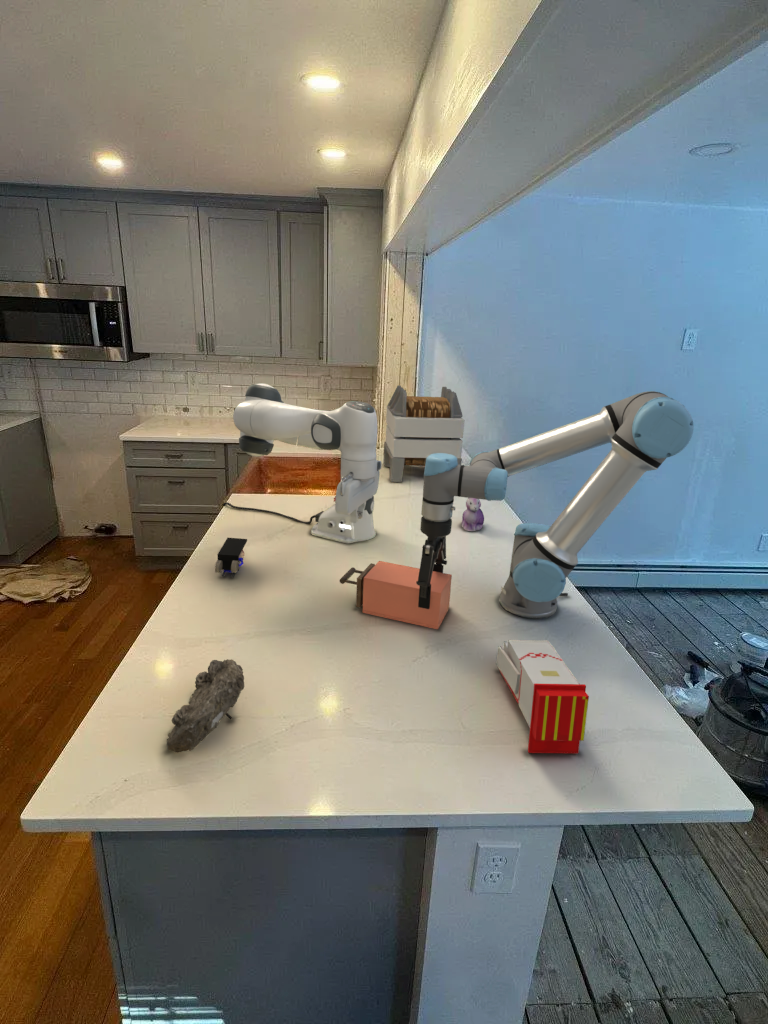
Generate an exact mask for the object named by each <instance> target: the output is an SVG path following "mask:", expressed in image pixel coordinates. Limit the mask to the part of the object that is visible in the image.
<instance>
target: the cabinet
mask: <svg viewBox="0 0 768 1024" xmlns="http://www.w3.org/2000/svg"><path fill="white" fill-rule="evenodd" d="M419 570H420V567H413V566H409V565H403V564H398V563H393V562H388V561H382V560H378V561H377V562H376V564H375V566H374V567H373V568H372V569H371V570H370V571H369V572H368V573H367V574H366V576H365V577H364V583H363V605H362V613H363V614H367V615H372V616H376V617H380V618H385V619H388V620H389V619H390V620H393V621H397V622H398V621H399V622H403V623H406V624H412V625H416V626H419V627H420V626H421V627H425V628H430V629H434V630H439V628H440V627H441V625H442V623H443V621H444V618H445V617H446V615H447V613H448V611H449V609H450V601H451V599H450V598H451V591H452V589H451V588H452V579H453V577H452V574H450V573H446V572H443V573H440V572H435V571H433V573H432V577H431V582H430V584H431V595H430V607H429V609H425V608H420V607H418V602H419V588H420V586H419V585H417V584H416V581H418V576H419Z"/></svg>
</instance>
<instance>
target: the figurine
mask: <svg viewBox="0 0 768 1024" xmlns="http://www.w3.org/2000/svg"><path fill="white" fill-rule="evenodd" d="M465 507H466V509H465V510H464V511H463V513H462V516H461V517H462V518H461V519H462V520H461V527H462V528H463V530H464V531H469V532H475V531H480V530H481V529H482V528H484V523H485V515H484V512H483V510H482V509H481V507H482V502H481V499H475V498H467V499H466V501H465Z"/></svg>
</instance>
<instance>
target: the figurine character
mask: <svg viewBox="0 0 768 1024" xmlns="http://www.w3.org/2000/svg"><path fill="white" fill-rule="evenodd" d="M247 542H248V538H240V537H226V539H225V541H224V543H223V544H222V546H221V547H220V549H219V551H218V552H217V560H216V562H215V564H214V572H215V573H221V577H222V578H224V577H225V576H226V574H227V573H230V574H231V573H232V574H231V578H234V577H235V575H236V573H237V572H239V571H240V567H242V566H243V565H244V564H245V562H244V558H245V551H244V547H245V546H246V544H247Z"/></svg>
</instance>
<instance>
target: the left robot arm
mask: <svg viewBox="0 0 768 1024" xmlns="http://www.w3.org/2000/svg"><path fill="white" fill-rule="evenodd" d="M244 396H245V398H244V401H242V402H240V403H239V404H237V406H236V407H235V408H234V411H233V414H232V416H233V417H232V420H233V423H234V426H235V427H236V429H237V430H238V431H239V437H238V446H239V449H240V450H241V451H242V452H244V453H245V454H246V455H249V456H251V457H256V458H257V457H259V458H260V457H265V456H268V455H270V454H271V453H272V451H273V448H274V446H275V444H274V442H275V441H278V442H281V443H284V444H288V445H291V446H292V445H293V446H298V447H303V448H308V449H312V450H313V449H314V450H319V451H334V450H335V451H339V452H340V482H338V484H337V487H336V492H335V496H334V497H333V502H334V504H333V505H331V506H329V507H328V508H326V509H325V510H322V511H320V512H318V513H316V514H314V515H312V516H310V518H309V520H308V521H302V520H300V519H297V518H295V517H292V516H289V515H286V514H283V513H280V512H277V511H274V510H273V511H272V510H269V509H268V510H267V509H262V508H254V507H243V506H236V505H233V504H231V503H229V502H227V501H226V502H223V504H222V506H226V505H227V506H229V507H231V508H233V509H236V510H242V511H244V510H245V511H253V512H260V513H261V512H262V513H266V514H271V515H275V516H280V517H282V518H284V519H288V520H292V521H293V522H297V523H300V524H305V525H310V524H312V522H313V519H314V522H316V523H315V524H314V525H313V526H312V528H311V530H310V533H311V536H315V537H319V538H323V539H326V540H330V541H336V542H339V543H343V544H352V543H357V542H365V541H368V540H372V539H373V538H375V537H376V535H377V532H376V528H375V523H374V513H373V512H374V509H375V495H376V494H377V492H378V490H379V485H380V470H381V469H382V461H381V460H377V442H378V416H377V411H376V408H375V407H374V406H372V404H369V403H368V402H364V401H359V400H349V401H347V402H345V403H344V404H343V405H342V406H340V407H338V408H336V409H332V410H327V409H326V410H325V409H316V408H308V407H304V406H300V405H294V404H289V403H285V402H284V401H283V400H282V395H281V393H280V392H279V390H278V389H277V388H275V387H273V386H272V385H270V384H268V383H261V382H260V383H255V384H253V383H252V384H251V385H248V388H247V390H246V392H245V394H244Z"/></svg>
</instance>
